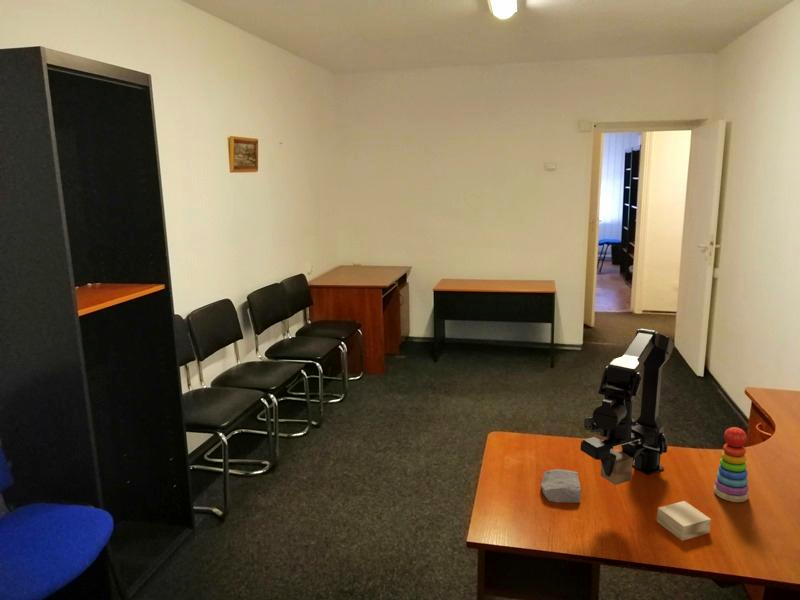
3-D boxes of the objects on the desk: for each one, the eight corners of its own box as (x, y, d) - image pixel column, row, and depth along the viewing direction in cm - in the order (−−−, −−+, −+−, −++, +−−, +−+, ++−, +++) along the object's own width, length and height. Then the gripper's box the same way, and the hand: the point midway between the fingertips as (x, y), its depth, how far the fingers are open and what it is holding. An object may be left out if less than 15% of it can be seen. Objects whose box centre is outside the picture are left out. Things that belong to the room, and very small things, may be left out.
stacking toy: (746, 490, 154) (754, 424, 149) (749, 506, 147) (758, 438, 142) (712, 484, 157) (719, 419, 152) (714, 500, 150) (721, 433, 145)
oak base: (682, 515, 144) (684, 500, 144) (709, 534, 137) (710, 518, 136) (656, 522, 142) (658, 507, 141) (682, 541, 135) (683, 526, 134)
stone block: (544, 508, 152) (584, 504, 150) (541, 491, 151) (581, 487, 149) (542, 485, 163) (579, 481, 161) (539, 469, 163) (576, 465, 160)
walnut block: (615, 470, 147) (617, 449, 146) (631, 480, 143) (632, 457, 141) (600, 475, 145) (601, 453, 144) (615, 485, 141) (616, 462, 139)
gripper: (624, 395, 151) (620, 450, 154) (566, 409, 143) (564, 467, 147) (658, 411, 141) (654, 470, 145) (598, 427, 134) (595, 488, 137)
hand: (616, 473), depth 144 cm, fingers closed on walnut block, 5 cm apart
